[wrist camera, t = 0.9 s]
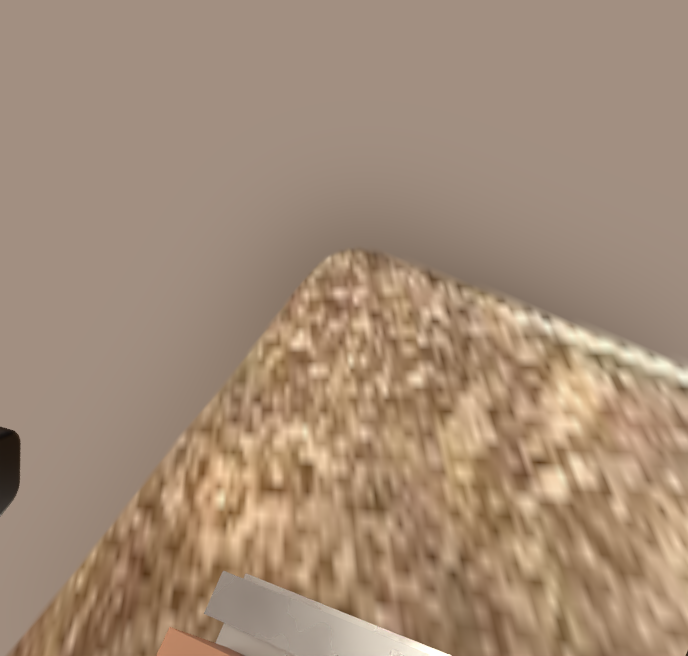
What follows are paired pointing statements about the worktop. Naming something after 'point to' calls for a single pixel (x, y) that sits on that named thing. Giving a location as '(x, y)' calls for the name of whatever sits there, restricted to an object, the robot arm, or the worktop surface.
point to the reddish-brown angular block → (191, 646)
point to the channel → (296, 624)
